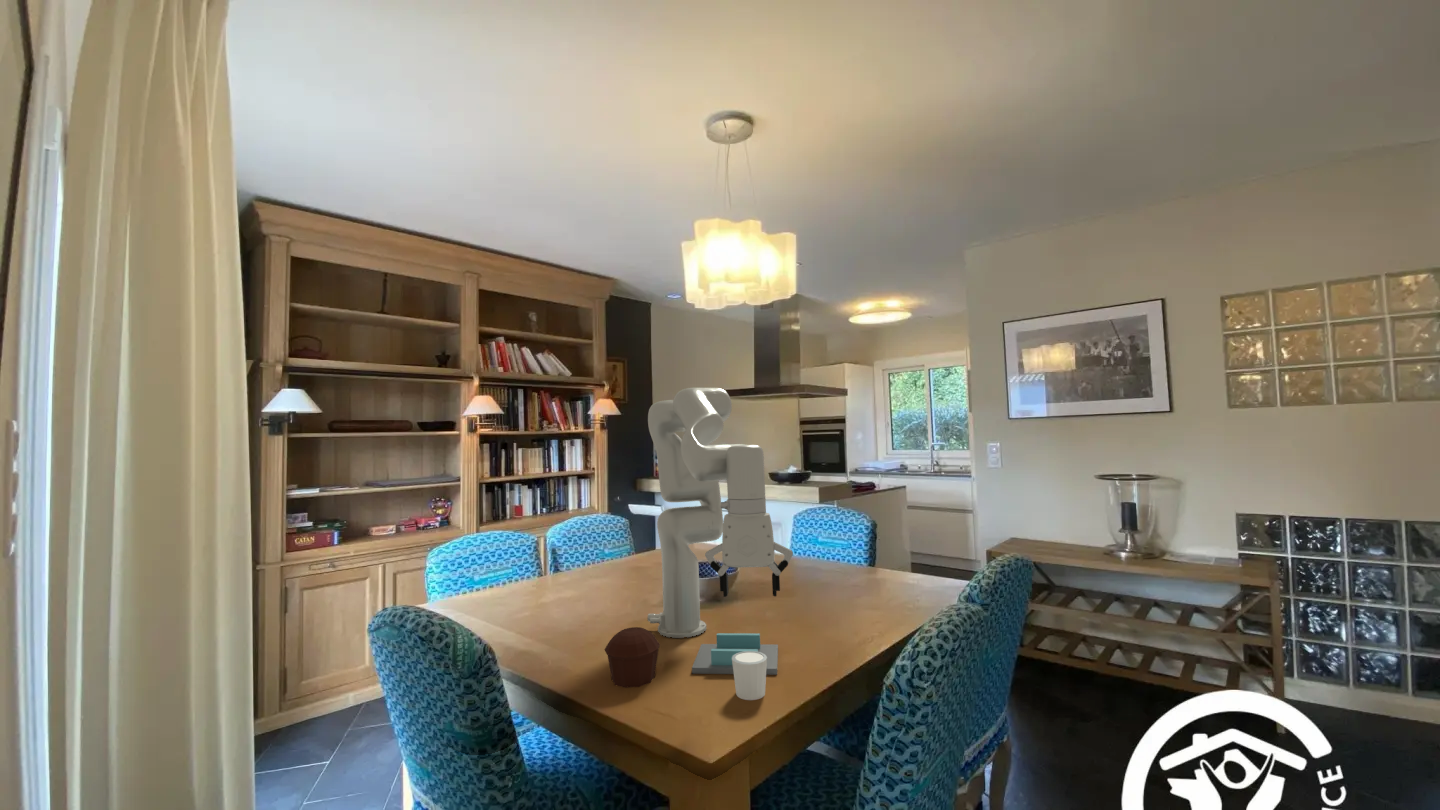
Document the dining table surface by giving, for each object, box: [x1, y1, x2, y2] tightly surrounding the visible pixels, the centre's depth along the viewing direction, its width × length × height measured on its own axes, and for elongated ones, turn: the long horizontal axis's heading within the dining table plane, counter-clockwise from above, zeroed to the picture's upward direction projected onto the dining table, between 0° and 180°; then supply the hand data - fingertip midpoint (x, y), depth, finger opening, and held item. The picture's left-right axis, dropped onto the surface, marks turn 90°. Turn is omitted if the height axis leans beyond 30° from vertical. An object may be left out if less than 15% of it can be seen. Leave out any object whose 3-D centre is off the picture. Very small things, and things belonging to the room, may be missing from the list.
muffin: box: [604, 626, 661, 689], centre depth 121 cm, size 12×11×10 cm
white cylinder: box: [732, 651, 767, 701], centre depth 112 cm, size 7×7×7 cm
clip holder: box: [691, 632, 779, 676], centre depth 129 cm, size 18×14×4 cm
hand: (750, 594), depth 114 cm, fingers open, 9 cm apart
